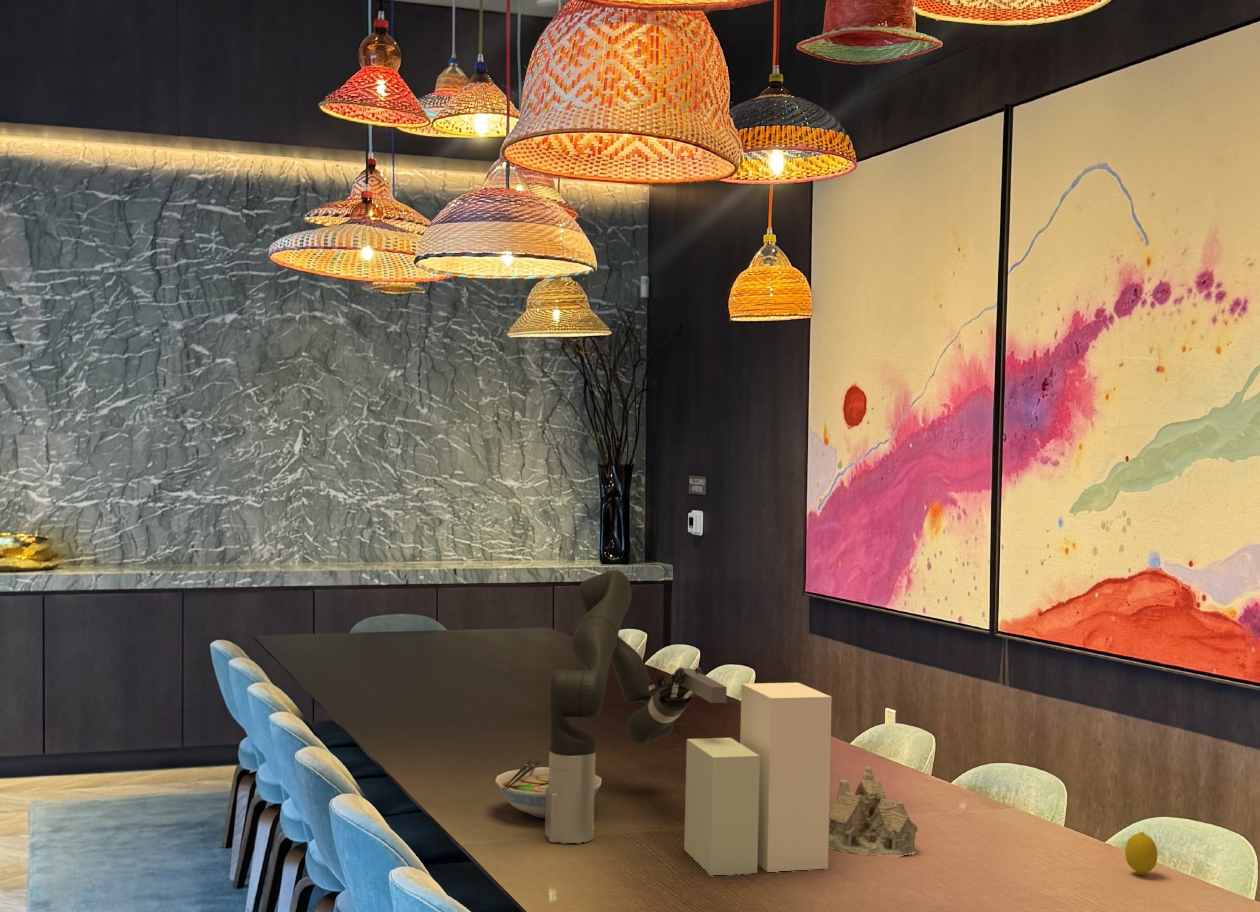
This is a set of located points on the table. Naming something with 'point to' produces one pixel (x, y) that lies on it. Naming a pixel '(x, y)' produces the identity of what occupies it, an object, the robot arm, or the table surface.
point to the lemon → (1141, 853)
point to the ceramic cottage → (870, 821)
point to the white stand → (790, 772)
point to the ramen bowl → (529, 788)
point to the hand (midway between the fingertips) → (691, 672)
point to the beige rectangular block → (722, 806)
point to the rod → (703, 686)
